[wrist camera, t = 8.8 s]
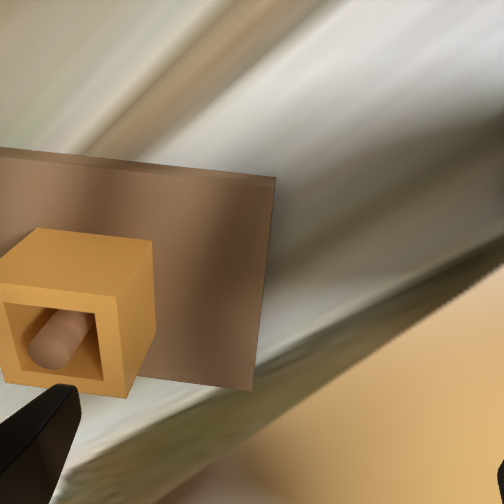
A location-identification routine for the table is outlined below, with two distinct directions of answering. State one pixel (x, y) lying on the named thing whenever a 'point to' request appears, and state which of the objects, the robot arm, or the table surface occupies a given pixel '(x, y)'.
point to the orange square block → (78, 307)
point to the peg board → (155, 253)
